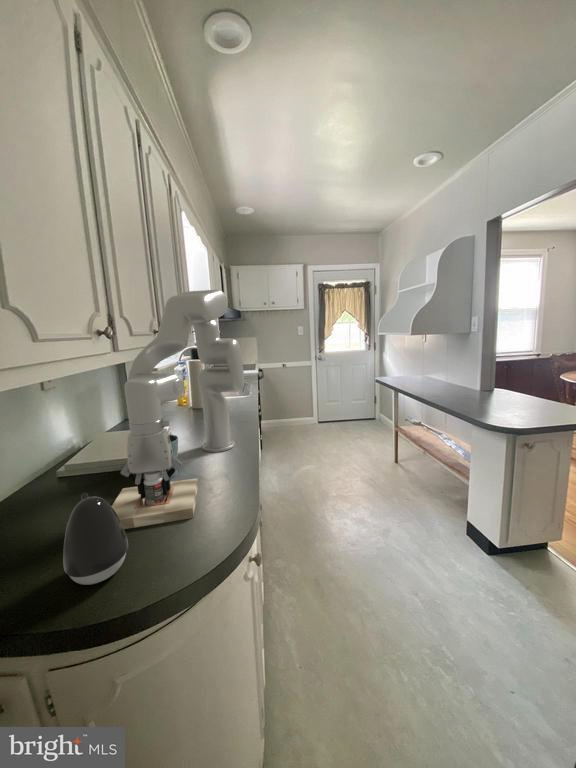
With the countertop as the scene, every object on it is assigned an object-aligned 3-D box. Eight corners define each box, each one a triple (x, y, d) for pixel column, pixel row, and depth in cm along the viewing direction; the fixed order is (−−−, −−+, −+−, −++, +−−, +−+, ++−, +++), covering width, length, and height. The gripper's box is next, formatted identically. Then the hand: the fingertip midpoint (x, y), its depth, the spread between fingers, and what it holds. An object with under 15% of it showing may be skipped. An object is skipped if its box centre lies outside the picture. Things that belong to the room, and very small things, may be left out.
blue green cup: (140, 481, 93) (135, 444, 91) (161, 467, 103) (157, 433, 101) (169, 483, 90) (164, 446, 88) (187, 469, 100) (184, 434, 98)
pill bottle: (158, 507, 76) (154, 476, 74) (142, 506, 77) (138, 475, 75) (169, 497, 80) (166, 468, 79) (153, 496, 81) (150, 467, 80)
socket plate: (124, 496, 84) (122, 487, 84) (198, 486, 88) (197, 477, 88) (102, 532, 69) (101, 522, 68) (193, 517, 73) (192, 507, 72)
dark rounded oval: (122, 545, 64) (112, 479, 62) (137, 571, 57) (127, 497, 54) (63, 572, 57) (49, 499, 55) (72, 606, 50) (57, 523, 47)
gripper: (184, 419, 80) (190, 482, 83) (114, 426, 77) (124, 492, 80) (180, 428, 73) (187, 496, 76) (103, 436, 70) (114, 507, 73)
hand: (155, 493), depth 78 cm, fingers closed on pill bottle, 4 cm apart
